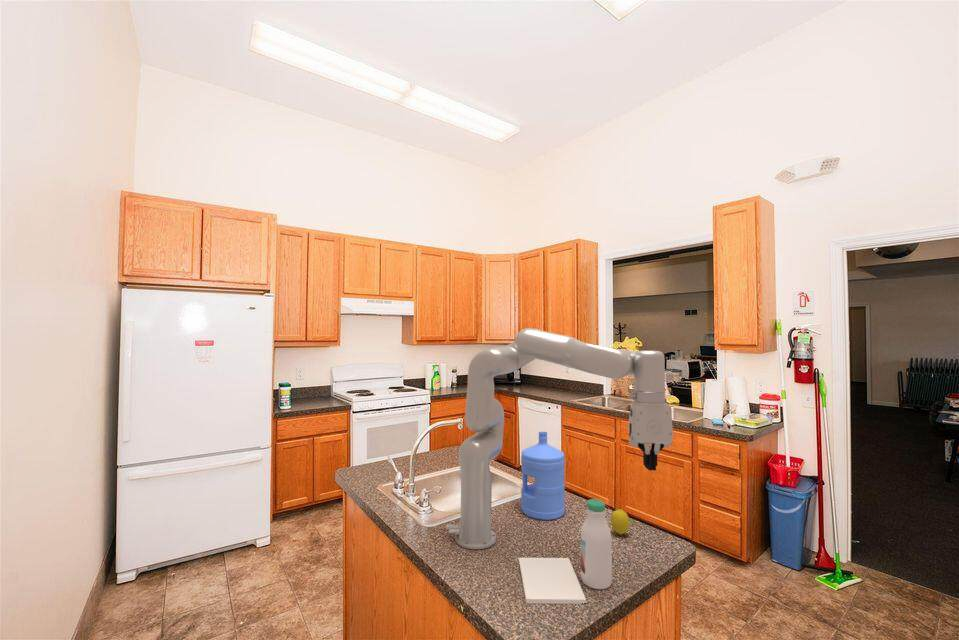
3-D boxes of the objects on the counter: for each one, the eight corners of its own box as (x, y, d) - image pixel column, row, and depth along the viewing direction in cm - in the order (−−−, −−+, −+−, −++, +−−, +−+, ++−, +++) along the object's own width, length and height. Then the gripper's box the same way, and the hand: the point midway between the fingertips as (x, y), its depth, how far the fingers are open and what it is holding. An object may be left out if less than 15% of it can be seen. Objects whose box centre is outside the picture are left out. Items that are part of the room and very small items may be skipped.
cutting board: (526, 603, 95) (526, 599, 95) (518, 561, 113) (518, 557, 113) (585, 604, 95) (585, 599, 95) (568, 561, 113) (568, 558, 113)
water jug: (563, 504, 153) (563, 428, 154) (566, 522, 137) (566, 438, 139) (521, 501, 155) (522, 427, 156) (519, 519, 140) (520, 436, 141)
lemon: (621, 529, 133) (621, 504, 133) (633, 537, 128) (633, 511, 128) (607, 532, 131) (607, 506, 131) (619, 540, 126) (618, 513, 126)
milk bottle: (616, 580, 105) (616, 501, 106) (603, 594, 99) (603, 510, 100) (589, 569, 110) (589, 493, 111) (575, 581, 104) (575, 502, 105)
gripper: (626, 399, 103) (626, 473, 102) (685, 400, 103) (686, 473, 102) (616, 395, 110) (616, 464, 109) (671, 395, 110) (672, 464, 109)
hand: (650, 468), depth 106 cm, fingers closed
